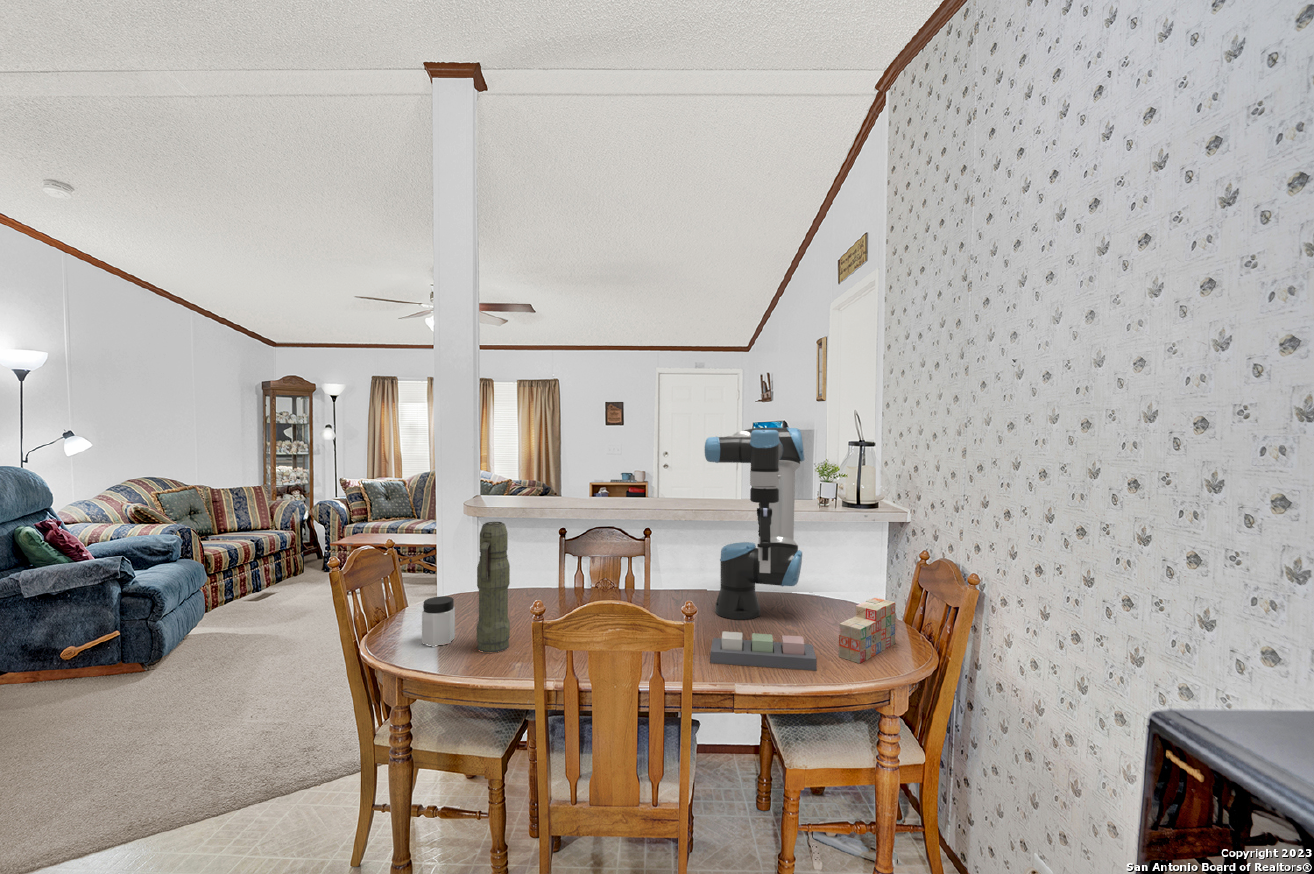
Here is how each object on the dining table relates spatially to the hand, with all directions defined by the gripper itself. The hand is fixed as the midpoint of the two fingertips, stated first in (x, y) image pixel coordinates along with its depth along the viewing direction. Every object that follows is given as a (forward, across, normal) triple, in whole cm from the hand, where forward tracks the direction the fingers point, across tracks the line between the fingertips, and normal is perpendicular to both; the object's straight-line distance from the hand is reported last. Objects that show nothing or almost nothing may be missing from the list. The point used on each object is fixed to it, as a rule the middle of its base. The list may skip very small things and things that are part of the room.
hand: (764, 566), depth 148 cm
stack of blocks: (+25, +12, -29) cm, 40 cm away
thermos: (+25, -5, +75) cm, 79 cm away
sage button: (+23, 0, 0) cm, 23 cm away
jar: (+25, -3, +92) cm, 96 cm away
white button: (+23, 0, +8) cm, 24 cm away
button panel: (+25, 0, 0) cm, 25 cm away
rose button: (+23, 0, -8) cm, 24 cm away
